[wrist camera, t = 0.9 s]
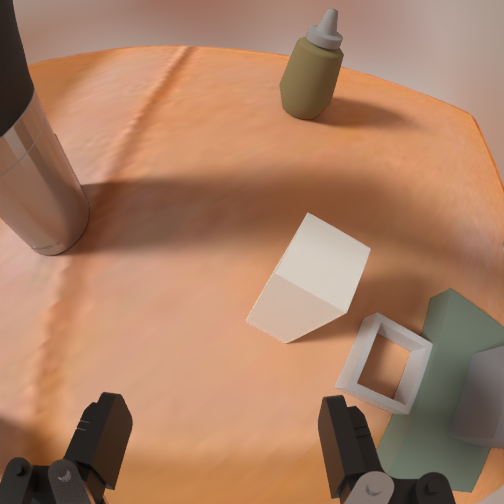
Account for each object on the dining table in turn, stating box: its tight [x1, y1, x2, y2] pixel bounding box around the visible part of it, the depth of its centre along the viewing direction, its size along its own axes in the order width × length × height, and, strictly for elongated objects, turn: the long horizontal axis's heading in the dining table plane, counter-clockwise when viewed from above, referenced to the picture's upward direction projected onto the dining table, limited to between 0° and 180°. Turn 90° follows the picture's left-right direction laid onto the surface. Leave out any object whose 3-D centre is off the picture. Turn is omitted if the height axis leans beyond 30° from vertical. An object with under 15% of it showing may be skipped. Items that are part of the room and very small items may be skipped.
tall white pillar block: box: [245, 213, 371, 344], centre depth 24 cm, size 5×5×14 cm
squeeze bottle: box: [280, 8, 344, 120], centre depth 35 cm, size 8×8×18 cm
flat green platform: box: [334, 288, 504, 493], centre depth 23 cm, size 24×22×11 cm
